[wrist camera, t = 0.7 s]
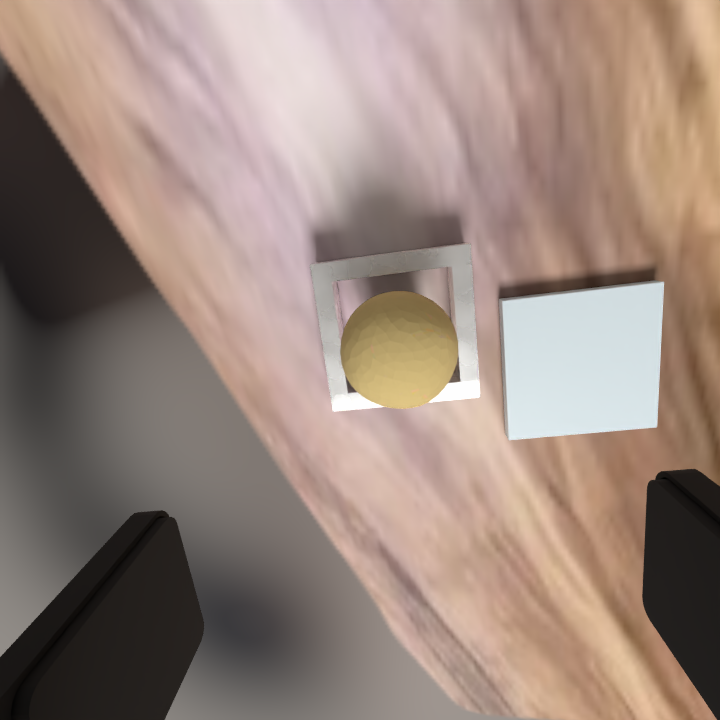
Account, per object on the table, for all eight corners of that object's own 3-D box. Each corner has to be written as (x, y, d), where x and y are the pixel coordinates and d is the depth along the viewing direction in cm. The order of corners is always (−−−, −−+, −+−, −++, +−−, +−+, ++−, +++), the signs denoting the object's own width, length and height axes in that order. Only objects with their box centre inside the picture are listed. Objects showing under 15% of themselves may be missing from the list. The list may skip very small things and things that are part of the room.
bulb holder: (464, 243, 29) (470, 243, 27) (473, 384, 32) (480, 397, 29) (316, 262, 30) (309, 264, 28) (337, 398, 33) (332, 411, 30)
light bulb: (428, 378, 32) (445, 440, 22) (342, 356, 32) (321, 409, 22) (454, 291, 30) (484, 318, 20) (363, 268, 30) (350, 284, 20)
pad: (654, 280, 29) (664, 282, 28) (648, 421, 32) (656, 427, 31) (498, 298, 30) (502, 300, 29) (505, 434, 33) (508, 440, 32)
